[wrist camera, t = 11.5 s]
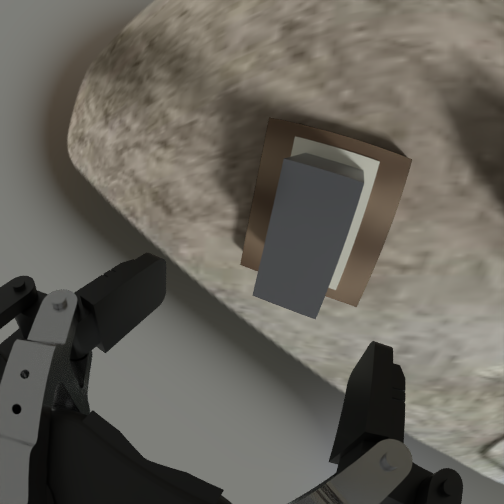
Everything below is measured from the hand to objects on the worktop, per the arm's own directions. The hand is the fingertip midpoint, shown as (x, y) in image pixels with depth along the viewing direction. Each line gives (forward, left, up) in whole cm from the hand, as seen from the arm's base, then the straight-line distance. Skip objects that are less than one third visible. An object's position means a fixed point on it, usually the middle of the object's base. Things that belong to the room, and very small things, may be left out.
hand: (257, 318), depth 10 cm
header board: (0, 0, -15) cm, 15 cm away
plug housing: (0, 0, -13) cm, 13 cm away
